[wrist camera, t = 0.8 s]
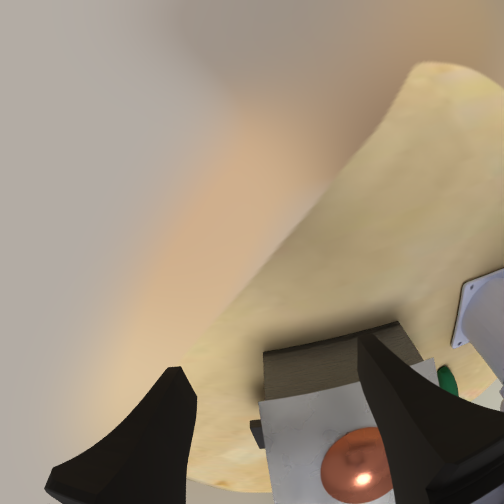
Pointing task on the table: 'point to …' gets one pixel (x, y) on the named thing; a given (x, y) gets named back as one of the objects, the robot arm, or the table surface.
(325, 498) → the lid
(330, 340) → the storage bin
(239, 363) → the table surface
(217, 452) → the table surface
